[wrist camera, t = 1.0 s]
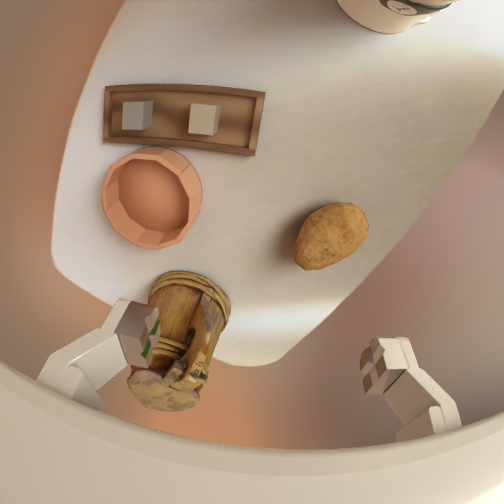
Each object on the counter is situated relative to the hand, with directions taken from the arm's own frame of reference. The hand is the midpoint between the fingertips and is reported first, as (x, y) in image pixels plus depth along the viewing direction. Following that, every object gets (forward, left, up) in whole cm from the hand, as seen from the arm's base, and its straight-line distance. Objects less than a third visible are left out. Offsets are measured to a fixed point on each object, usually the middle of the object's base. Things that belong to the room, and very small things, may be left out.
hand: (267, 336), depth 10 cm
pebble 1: (-3, -21, -36) cm, 42 cm away
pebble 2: (-3, -10, -36) cm, 37 cm away
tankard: (+34, -10, -37) cm, 51 cm away
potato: (+12, +12, -37) cm, 40 cm away
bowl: (+11, -18, -36) cm, 42 cm away
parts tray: (-3, -15, -36) cm, 40 cm away
